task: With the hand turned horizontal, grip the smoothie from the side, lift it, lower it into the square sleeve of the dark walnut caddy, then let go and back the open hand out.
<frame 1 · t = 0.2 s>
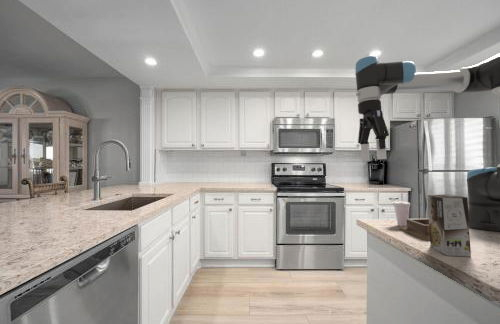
hand: (373, 160, 90), 28 cm above the counter, tool pointing down, fingers open, 13 cm apart
coffee box: (449, 252, 74), on the counter
smoothie: (402, 226, 107), on the counter
caddy: (431, 234, 92), on the counter
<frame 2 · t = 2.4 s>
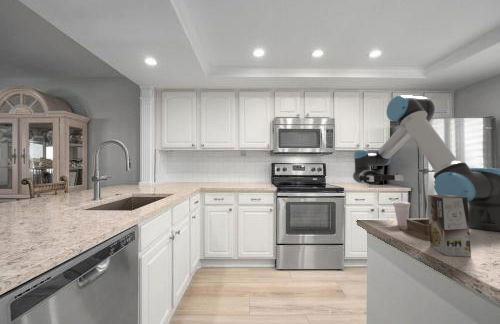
hand: (388, 178, 119), 20 cm above the counter, tool horizontal, fingers open, 13 cm apart
nothing on the counter moved.
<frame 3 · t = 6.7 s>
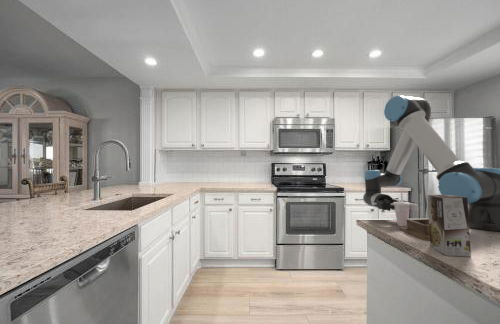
hand: (408, 208, 103), 8 cm above the counter, tool horizontal, fingers closed on smoothie, 6 cm apart
smoothie: (402, 226, 107), on the counter, touching gripper
everything else where it was.
when the fingers open (10 cm above the counter, at t = 11.7 s): smoothie drops 1 cm, resting on caddy.
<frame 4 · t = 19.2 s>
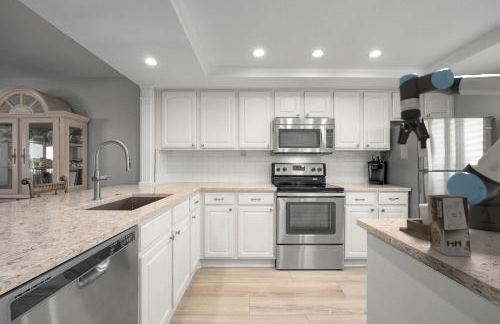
hand: (413, 157, 112), 29 cm above the counter, tool pointing down, fingers open, 13 cm apart
smoothie: (430, 232, 92), point 1 cm above the counter, touching caddy
everything else where it was.
at the end: smoothie 0.1 cm off-centre on the caddy, point 0.8 cm above the caddy's base; smoothie tilted 0°; the gripper is holding nothing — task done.
